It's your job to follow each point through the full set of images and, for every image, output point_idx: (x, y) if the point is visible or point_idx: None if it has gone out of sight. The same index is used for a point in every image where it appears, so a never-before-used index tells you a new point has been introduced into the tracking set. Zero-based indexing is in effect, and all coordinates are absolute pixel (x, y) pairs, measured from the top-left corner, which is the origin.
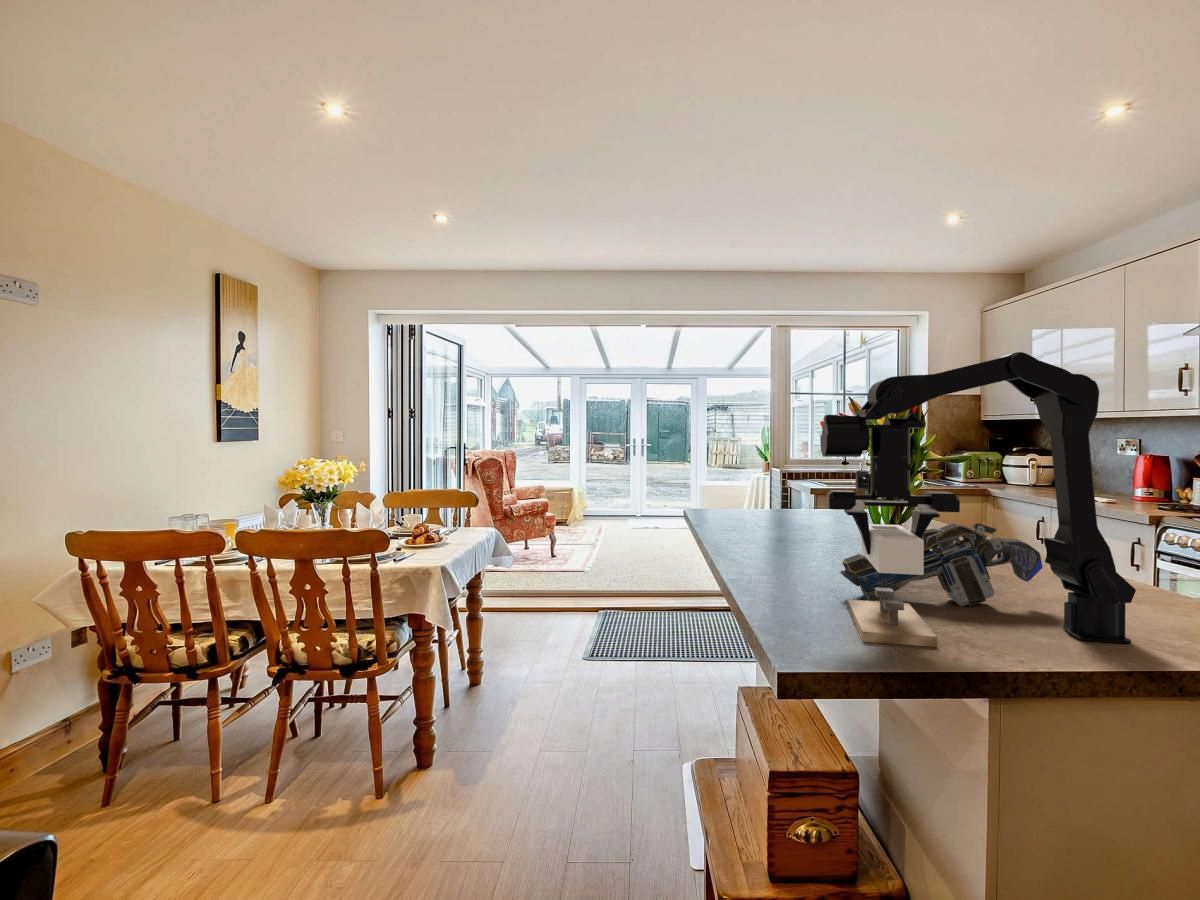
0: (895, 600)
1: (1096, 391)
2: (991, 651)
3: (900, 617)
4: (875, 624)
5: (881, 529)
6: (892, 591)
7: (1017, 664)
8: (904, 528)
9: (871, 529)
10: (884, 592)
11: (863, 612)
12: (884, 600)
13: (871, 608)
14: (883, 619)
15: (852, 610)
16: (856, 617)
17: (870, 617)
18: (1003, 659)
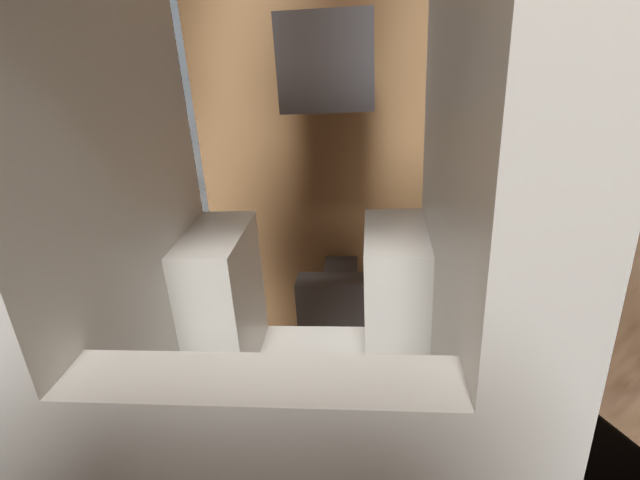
0: (349, 304)
1: None
2: (622, 356)
3: (391, 152)
4: (278, 284)
5: (156, 439)
6: (366, 98)
7: (637, 443)
8: (632, 208)
9: (15, 457)
10: (320, 112)
11: (237, 107)
12: (299, 315)
13: (276, 7)
14: (314, 205)
15: (189, 74)
16: (209, 203)
17: (264, 186)
18: (619, 415)
